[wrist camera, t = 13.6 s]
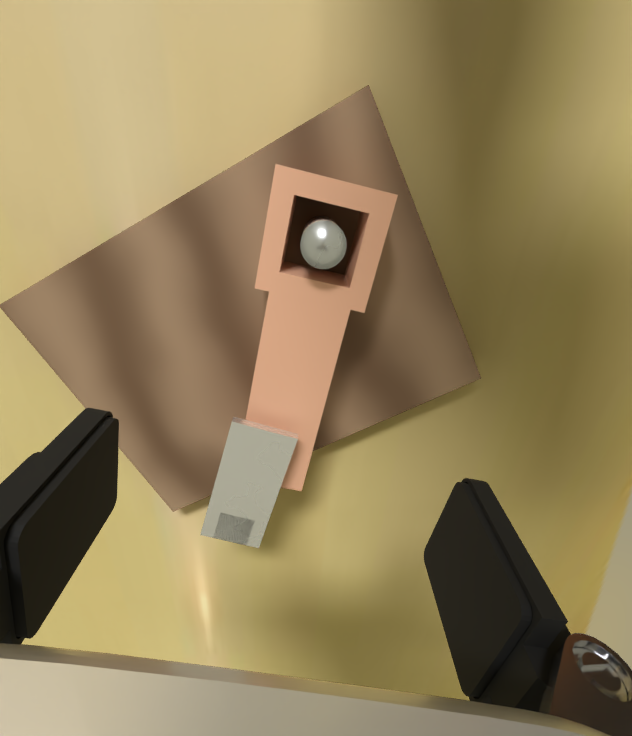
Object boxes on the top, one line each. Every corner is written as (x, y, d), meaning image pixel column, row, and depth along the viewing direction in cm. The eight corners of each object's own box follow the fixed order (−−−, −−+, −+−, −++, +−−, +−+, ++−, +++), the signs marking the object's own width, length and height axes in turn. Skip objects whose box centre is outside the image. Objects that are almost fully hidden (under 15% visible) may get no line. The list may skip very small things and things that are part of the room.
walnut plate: (364, 92, 20) (368, 85, 19) (472, 368, 26) (481, 378, 25) (16, 299, 24) (-2, 305, 23) (179, 497, 30) (173, 511, 29)
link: (281, 168, 20) (275, 163, 17) (384, 194, 21) (397, 195, 17) (233, 443, 27) (222, 477, 23) (313, 457, 27) (313, 493, 24)
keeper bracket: (249, 371, 26) (231, 421, 20) (301, 385, 27) (297, 439, 21) (222, 467, 29) (200, 534, 23) (269, 479, 30) (258, 548, 24)
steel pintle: (329, 208, 21) (334, 212, 17) (346, 244, 22) (354, 256, 17) (296, 227, 21) (292, 234, 17) (313, 261, 22) (313, 277, 18)
